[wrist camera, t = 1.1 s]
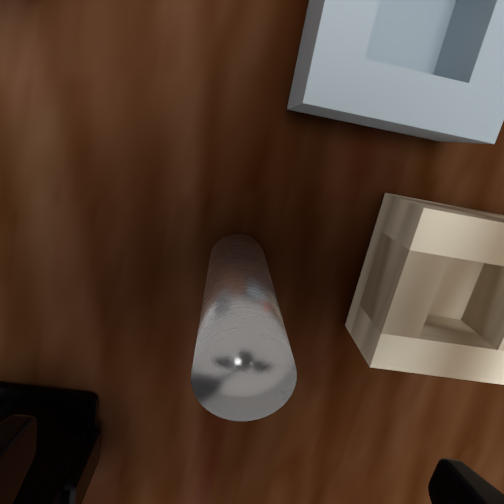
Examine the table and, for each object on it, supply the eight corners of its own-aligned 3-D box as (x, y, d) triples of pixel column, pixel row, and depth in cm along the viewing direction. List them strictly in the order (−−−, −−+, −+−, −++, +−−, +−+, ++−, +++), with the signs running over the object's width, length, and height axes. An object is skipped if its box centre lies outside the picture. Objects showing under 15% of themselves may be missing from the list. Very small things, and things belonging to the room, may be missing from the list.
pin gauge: (206, 280, 20) (184, 415, 10) (214, 229, 19) (199, 325, 10) (259, 288, 20) (284, 426, 11) (269, 238, 19) (307, 340, 10)
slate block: (286, 109, 17) (302, 102, 14) (328, -94, 15) (361, -171, 11) (439, 141, 18) (494, 143, 14) (502, -46, 16) (587, -101, 12)
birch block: (344, 325, 21) (369, 367, 18) (385, 192, 19) (423, 207, 15) (468, 343, 22) (516, 386, 18) (521, 218, 20) (590, 239, 16)
